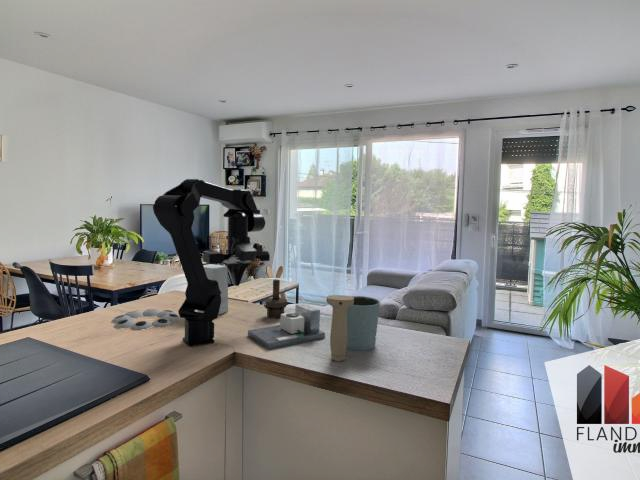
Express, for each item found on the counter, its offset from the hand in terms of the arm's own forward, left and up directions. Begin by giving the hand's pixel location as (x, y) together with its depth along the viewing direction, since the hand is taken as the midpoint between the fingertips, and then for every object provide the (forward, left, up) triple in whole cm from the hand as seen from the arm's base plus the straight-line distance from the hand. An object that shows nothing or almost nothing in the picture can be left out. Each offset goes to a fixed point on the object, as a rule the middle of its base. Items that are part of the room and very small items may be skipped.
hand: (236, 285), depth 116 cm
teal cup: (+21, -31, -12) cm, 39 cm away
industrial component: (+15, +4, -12) cm, 19 cm away
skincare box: (-1, +17, -12) cm, 21 cm away
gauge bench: (+8, -16, -12) cm, 21 cm away
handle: (+10, -36, -12) cm, 39 cm away
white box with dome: (+10, -17, -10) cm, 23 cm away
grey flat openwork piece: (-21, +18, -13) cm, 30 cm away
